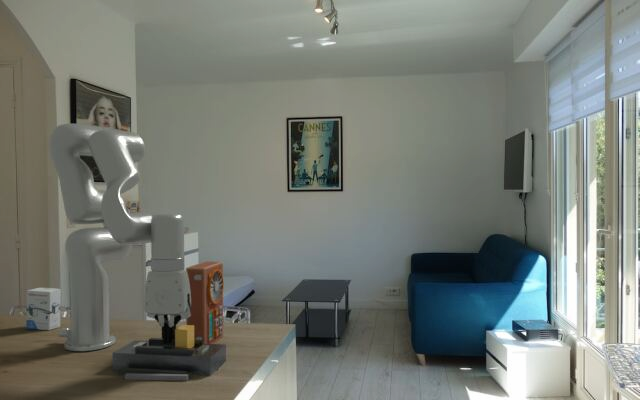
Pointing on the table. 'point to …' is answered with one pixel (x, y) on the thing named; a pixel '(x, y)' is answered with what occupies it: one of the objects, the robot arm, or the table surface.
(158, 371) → the dark grey long bar
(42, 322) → the ink box
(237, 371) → the table surface
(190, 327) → the yellow block
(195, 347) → the slider track
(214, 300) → the control panel
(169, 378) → the grey square bar
